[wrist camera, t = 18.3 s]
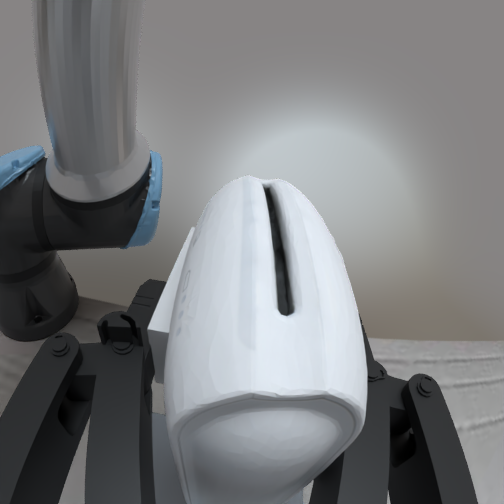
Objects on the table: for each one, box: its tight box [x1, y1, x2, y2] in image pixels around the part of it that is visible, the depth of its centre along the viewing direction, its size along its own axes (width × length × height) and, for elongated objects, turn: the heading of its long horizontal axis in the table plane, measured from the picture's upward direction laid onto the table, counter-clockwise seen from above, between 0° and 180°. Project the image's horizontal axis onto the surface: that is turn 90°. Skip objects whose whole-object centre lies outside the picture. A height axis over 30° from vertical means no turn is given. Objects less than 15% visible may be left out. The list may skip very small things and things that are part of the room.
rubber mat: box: [152, 412, 303, 504], centre depth 21 cm, size 16×16×1 cm
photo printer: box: [164, 175, 367, 504], centre depth 10 cm, size 10×4×12 cm, turn 1°
